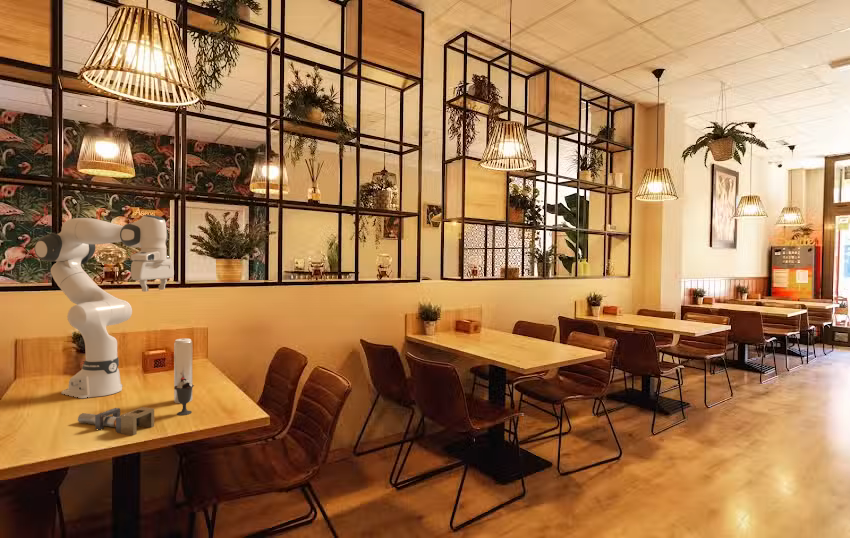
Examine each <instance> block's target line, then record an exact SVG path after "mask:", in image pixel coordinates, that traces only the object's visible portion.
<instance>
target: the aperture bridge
mask: <svg viewBox="0 0 850 538" xmlns="http://www.w3.org/2000/svg"><path fill="white" fill-rule="evenodd" d="M137 413H138V414H137ZM120 416H121V433H120V434H121V435H129V436H136V435H137V428H138V427H144V428H151V429H152V428H154V427H155V408H154V407H153V408H152V407H146V406H145V407H143V406H142V407H141V406H140V407H138V408H136V409H134V410H133V409H132V410H130V411H129V412H125V413H123V414H120ZM136 418H139V426H137V425H136Z"/></svg>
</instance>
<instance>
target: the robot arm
mask: <svg viewBox="0 0 850 538" xmlns="http://www.w3.org/2000/svg"><path fill="white" fill-rule="evenodd" d="M168 240H169V234H168V231H167V224H166V220H165V218H163V217H161V216H159V215H152V214H144V215H142V217H141V218H140V219H138V220H136V221H134V222H130V223H126V224H124V225H121V224H117V223H115V222H110V221H105V220H103V219H102V220H101V219H97V218H92V217H74V218H70V219H67V220H66V221H65V222H63V224H62V226H61V231H60V232H59V233H55V232H50V233H49V234H47V235H45V236H42V237H40V238H38V240H37V241H36V242H35V244H34V246H33V247H34V254H35V255H36V257H37V258H38V259H40V260H41V261H43V262H51V263H52V262H56V263H54V264H53V265H52V266H51V268H50V274H51V276H52V278H53V280H54V282H55V283H56V285H57V286H58V288H59V290H61V291H62V292H63V294H64V295H65V296H66V297H67V299H69V301H70V302H71V303H72V304H75V305H73V306H71V307H70V308H69V310H68V312H67V316H66V317H67V321H68V324H69V325H70V326H71V327H73V328H74V329H76V330H77V331H78V332H79V333H80V335H81V336H82V339H83V341H84V347H85V348H84V349H85V351H84V352H85V360H84V361H81V362H80V365H82V367H81V370H79V371H78V372H77V373H76V374H74V375H73V376H71V377H70V378H69V380H68V387H67V388H66V389H63V390H62V391H61V395H64V394H65V395H66V396H68V395H69V397H73V396H74V398H77V397H78V399H88V398H94V397H105V396H110V395H113V394H117V393H119V392H122V390H123V384H122V382H121V375H120V369H119V366H120V363H119V362H120V360H119V359H120V358H119V357H118V339H116V337H115V336H113V335H110V334H109V333H108V330H107V327H108V326H109V327H110V326H115V325H119V324H123V323H124V322H127V321H128V320H130V319H131V317H132V315H133V308H132V305H131V304H130V303H129V302H128V301H127V300H124V299H121V298H119V297H116V296H114V295H112V294H111V293H109V292H107V291H105V290H104V289H102V288H101V287H100V286H98V284H97V283H96V282H95V281H94V280H93V279H92V278H91V277H90V275H88V273H87V272H86V271H85V270H84V269H83V268H82V265H84V264H86V263H88V262H89V260H90V259H91V258H92V257H93V256H94V254H95V251H96V245H103V244H105V245H106V244H111V243H112V244H113V243H121V242H122V244H123V245H124V246H126V247H129V248H130V247H131V248H140V250H139V251H137V252H135V253H133V254H131V256H130V260H131V261H132V262H131V264H130V277H131V279H132V280H133V281H139V285H140V286H141V291H142V292H149V286H148V285H147V282H148V280H159V281H160V284H159V285H158V290H159V291H162V290H163V291H164V290H165V289H166V285H167V282H168V279H173V278H174V275H175V270H174V263H173V259H172V258H171V257H170V255H169V256H168V254H167V242H168ZM65 395H64V396H65ZM87 397H88V398H87Z"/></svg>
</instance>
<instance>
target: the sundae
mask: <svg viewBox="0 0 850 538" xmlns="http://www.w3.org/2000/svg"><path fill="white" fill-rule="evenodd" d="M180 374H182V373H180ZM194 387H195V385H194V384H193V383H192V384H190V383H189V381H188V380H187V379H184V378H183V375H182V378H181V381H180V382H179V384H178V386H175V387H174V386H173V389H176V391H177V396H178V401H179V402H180V403H179V404H181V405H182V409H181V411H178V412H177V413H176V415H177V416H187V415H191V414H192V412H193V411H192V410H188V408H187V404H188V403H190V402H191V401H190V399H191V393H192V394H193V388H194ZM189 401H190V402H189Z"/></svg>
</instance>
